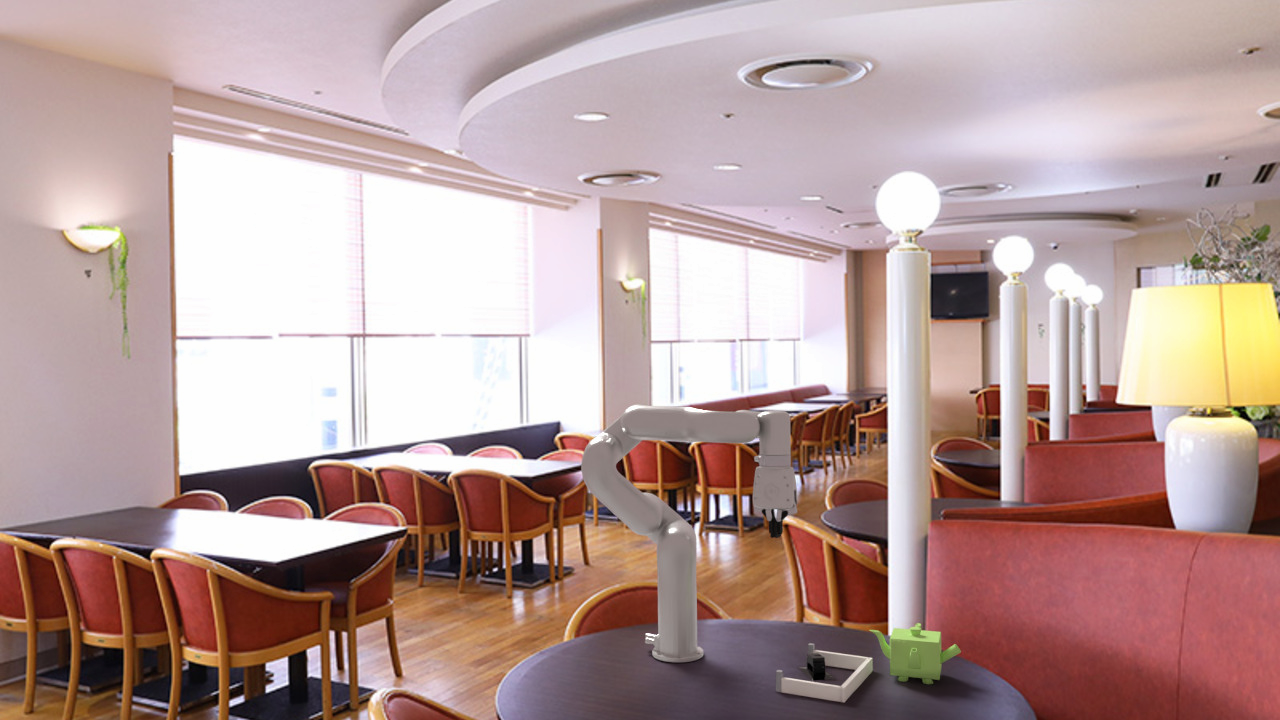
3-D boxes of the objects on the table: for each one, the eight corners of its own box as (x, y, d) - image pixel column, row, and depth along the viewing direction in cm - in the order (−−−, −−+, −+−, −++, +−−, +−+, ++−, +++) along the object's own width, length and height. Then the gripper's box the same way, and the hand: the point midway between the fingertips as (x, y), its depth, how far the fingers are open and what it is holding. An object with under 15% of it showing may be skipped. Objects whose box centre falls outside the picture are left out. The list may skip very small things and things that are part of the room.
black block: (841, 683, 215) (841, 663, 215) (810, 686, 213) (810, 665, 213) (820, 666, 227) (820, 646, 227) (791, 668, 225) (791, 648, 225)
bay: (776, 691, 208) (775, 671, 208) (809, 661, 228) (809, 643, 228) (844, 702, 201) (844, 681, 201) (872, 670, 221) (872, 651, 221)
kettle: (868, 672, 220) (868, 624, 220) (915, 663, 226) (915, 616, 226) (915, 692, 207) (914, 640, 207) (963, 682, 213) (963, 631, 213)
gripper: (740, 461, 233) (741, 537, 233) (799, 464, 226) (800, 542, 226) (752, 459, 240) (752, 532, 240) (809, 461, 233) (810, 536, 232)
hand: (775, 536), depth 233 cm, fingers closed
